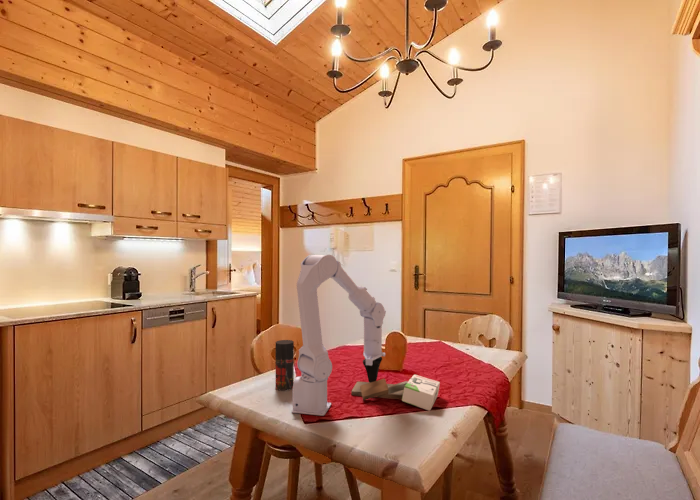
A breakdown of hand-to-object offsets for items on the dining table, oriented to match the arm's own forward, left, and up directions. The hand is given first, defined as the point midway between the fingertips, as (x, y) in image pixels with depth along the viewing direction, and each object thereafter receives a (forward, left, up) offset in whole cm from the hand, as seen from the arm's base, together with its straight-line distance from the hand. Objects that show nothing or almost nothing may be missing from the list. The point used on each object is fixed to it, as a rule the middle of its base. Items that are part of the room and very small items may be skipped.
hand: (372, 381), depth 119 cm
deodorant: (-29, -3, -3) cm, 29 cm away
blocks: (+6, -6, 0) cm, 9 cm away
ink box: (+14, -11, 0) cm, 18 cm away
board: (+3, 0, -3) cm, 4 cm away
